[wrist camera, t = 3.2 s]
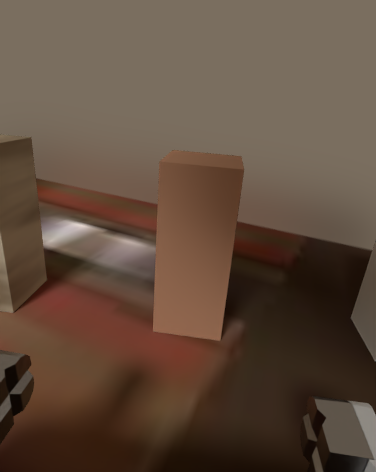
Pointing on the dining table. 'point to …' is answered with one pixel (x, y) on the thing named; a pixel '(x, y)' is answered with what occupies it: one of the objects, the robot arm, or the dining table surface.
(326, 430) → the robot arm
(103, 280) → the dining table surface
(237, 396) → the dining table surface
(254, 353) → the dining table surface
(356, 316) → the white block
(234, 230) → the terracotta block
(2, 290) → the birch block
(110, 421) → the dining table surface
